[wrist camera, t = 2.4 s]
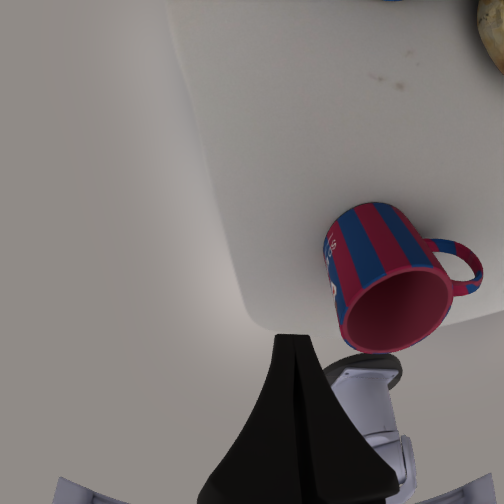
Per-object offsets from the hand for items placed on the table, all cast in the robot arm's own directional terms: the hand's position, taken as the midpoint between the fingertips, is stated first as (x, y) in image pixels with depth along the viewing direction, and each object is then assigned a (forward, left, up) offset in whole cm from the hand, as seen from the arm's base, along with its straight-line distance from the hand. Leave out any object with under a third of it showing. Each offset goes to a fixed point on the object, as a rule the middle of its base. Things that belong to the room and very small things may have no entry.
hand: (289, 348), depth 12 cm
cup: (+1, -8, -9) cm, 12 cm away
